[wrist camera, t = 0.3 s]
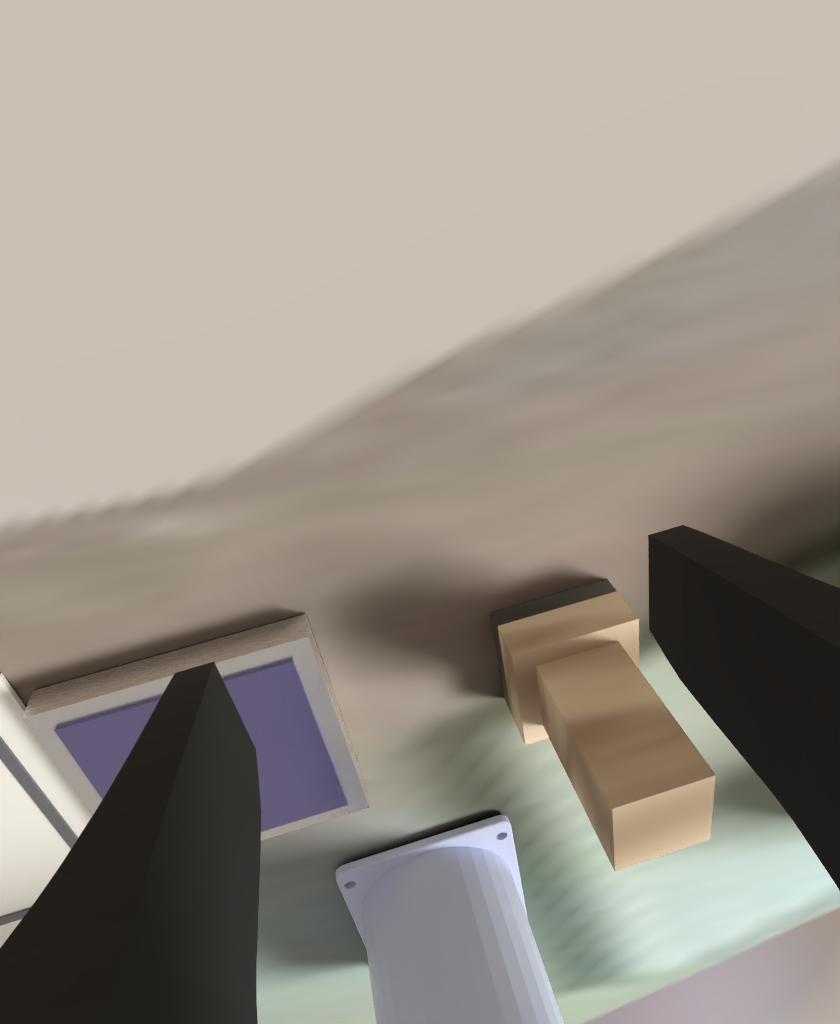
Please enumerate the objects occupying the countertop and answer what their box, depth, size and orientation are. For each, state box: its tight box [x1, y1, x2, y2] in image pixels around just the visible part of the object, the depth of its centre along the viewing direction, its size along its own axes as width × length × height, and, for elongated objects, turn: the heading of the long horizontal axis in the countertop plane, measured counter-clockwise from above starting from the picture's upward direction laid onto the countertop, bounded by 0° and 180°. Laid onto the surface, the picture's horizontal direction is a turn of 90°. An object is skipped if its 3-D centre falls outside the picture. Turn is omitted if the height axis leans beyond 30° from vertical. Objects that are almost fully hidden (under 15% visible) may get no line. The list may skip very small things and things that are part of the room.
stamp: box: [491, 579, 716, 871], centre depth 22 cm, size 4×4×8 cm
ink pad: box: [22, 614, 369, 841], centre depth 23 cm, size 9×9×1 cm
